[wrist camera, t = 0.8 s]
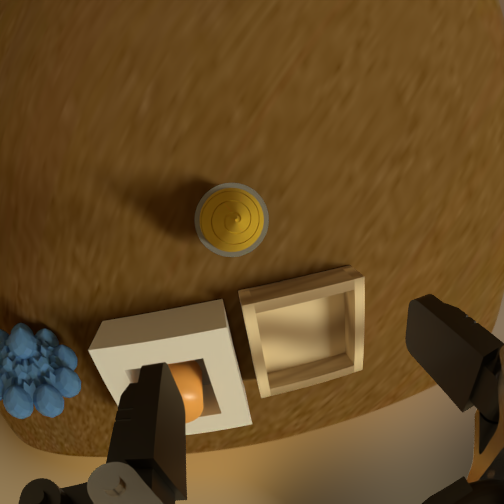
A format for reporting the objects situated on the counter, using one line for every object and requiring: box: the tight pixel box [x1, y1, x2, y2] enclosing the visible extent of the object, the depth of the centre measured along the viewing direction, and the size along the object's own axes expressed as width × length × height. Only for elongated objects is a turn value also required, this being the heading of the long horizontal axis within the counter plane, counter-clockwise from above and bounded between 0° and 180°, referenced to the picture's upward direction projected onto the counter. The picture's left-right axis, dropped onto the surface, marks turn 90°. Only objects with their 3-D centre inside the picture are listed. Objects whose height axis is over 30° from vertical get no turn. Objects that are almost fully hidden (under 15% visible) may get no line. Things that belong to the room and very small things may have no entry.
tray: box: [238, 265, 365, 398], centre depth 29 cm, size 11×11×3 cm
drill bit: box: [194, 183, 269, 257], centre depth 21 cm, size 5×5×10 cm
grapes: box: [0, 323, 81, 419], centre depth 21 cm, size 12×7×12 cm, turn 76°
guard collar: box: [88, 299, 252, 435], centre depth 27 cm, size 12×12×5 cm
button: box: [168, 360, 203, 423], centre depth 26 cm, size 5×5×4 cm
